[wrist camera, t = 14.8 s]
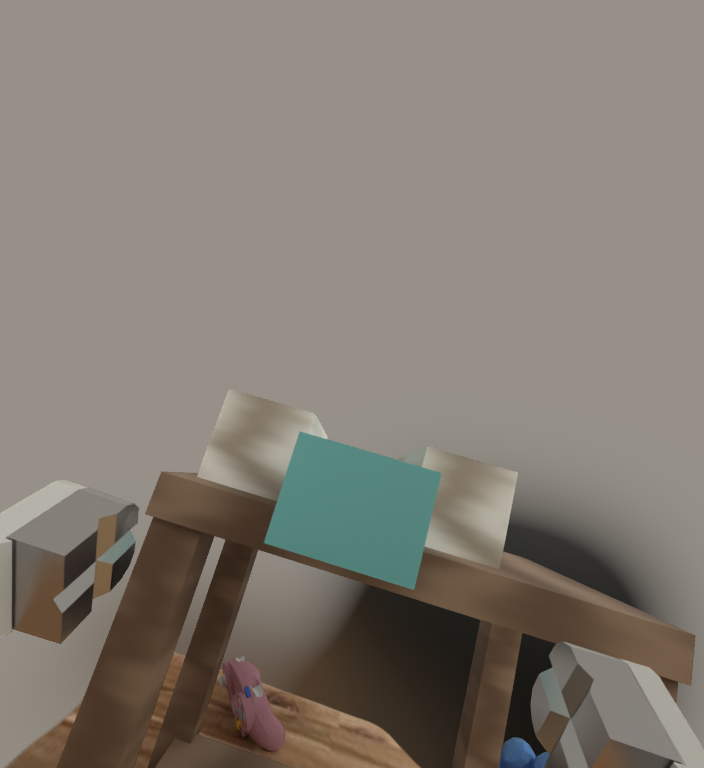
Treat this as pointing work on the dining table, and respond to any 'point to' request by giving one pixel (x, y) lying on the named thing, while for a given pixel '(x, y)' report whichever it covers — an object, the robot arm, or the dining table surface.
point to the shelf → (433, 585)
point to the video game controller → (251, 704)
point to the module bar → (354, 509)
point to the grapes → (520, 755)
